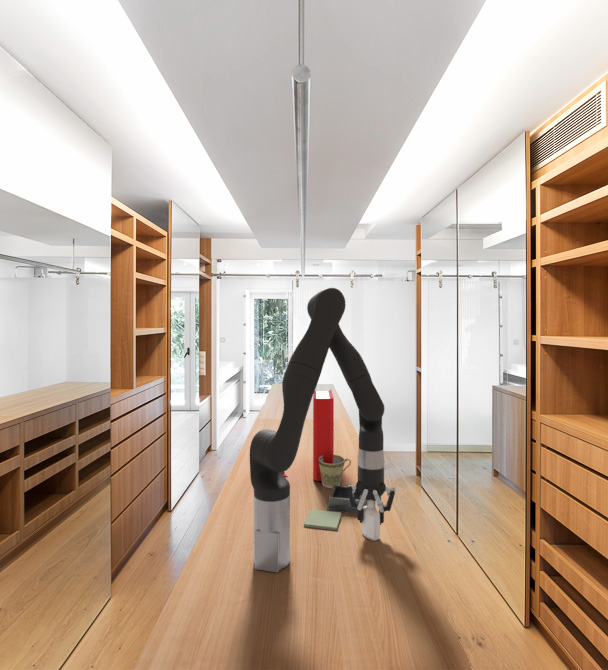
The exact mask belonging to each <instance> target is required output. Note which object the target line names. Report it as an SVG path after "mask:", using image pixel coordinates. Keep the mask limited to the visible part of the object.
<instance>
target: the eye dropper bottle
mask: <svg viewBox="0 0 608 670" xmlns="http://www.w3.org/2000/svg"><path fill="white" fill-rule="evenodd" d="M361 533H362V535H363V536H364V537H365V538H366V539H369V540H370V541H374V542H375V541H378V540H380V538H381V525H380V513H379V509H377V507H376V501H373V500H366V505H365V506H364V507H363V517H362V523H361Z"/></svg>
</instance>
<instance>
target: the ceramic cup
mask: <svg viewBox="0 0 608 670" xmlns="http://www.w3.org/2000/svg"><path fill="white" fill-rule="evenodd" d="M346 462H349V463H348V465H347V466H346V467H345V464H346ZM351 463H352V461H351V460H350V459H349V458H344V456H341V455H338V454H334V455H333V464H328V463H324V462H323V456H320V457H319V467H320V473H321V479H322V481H321V485H322V486H323V488H327V489H333V486H334V485H339V486H341V482H342V476H343V473H344V472H345V471H346V470H347V469H348V468H349V467H350V466H351ZM344 467H345V468H344Z"/></svg>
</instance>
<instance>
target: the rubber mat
mask: <svg viewBox="0 0 608 670" xmlns="http://www.w3.org/2000/svg"><path fill="white" fill-rule="evenodd" d="M341 518H342V512H337V511H327V510H322V509H312V508H311V509H310V510H309V512H308V514H307V517H306V519H305V521H304V523H303V527H304V528H305V527H306V528H312V529H322V530H329V531H337V530H338V527H339V525H340V521H341Z"/></svg>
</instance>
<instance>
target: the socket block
mask: <svg viewBox="0 0 608 670" xmlns="http://www.w3.org/2000/svg"><path fill="white" fill-rule="evenodd" d="M347 487H348V485H334V486H333V488H331V492H330V493H329V496H328V503H327V507H326V511H333V512H341V513H346V512H347V513H348V514H355V513H357V509H356V508H355V507H351V503H350V499H349V495H348V491H347ZM354 496H355V500H356V502H359V500H360V497H361V494H360V493H359V491H358V490H357V488H356V489H355V492H354ZM365 504H366V505H367V500H365V501H364V504H363V506H362V507H364V506H366V505H365Z"/></svg>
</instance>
